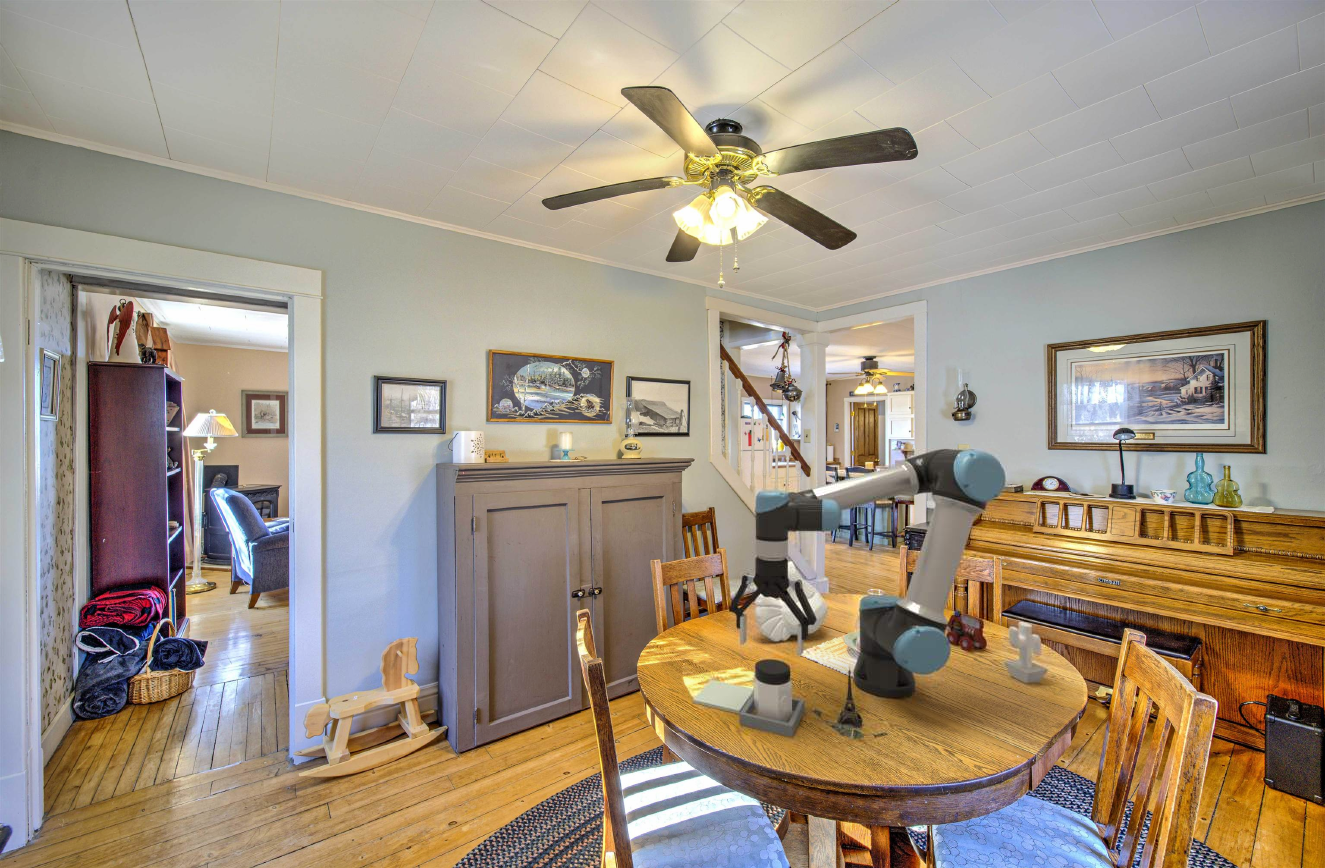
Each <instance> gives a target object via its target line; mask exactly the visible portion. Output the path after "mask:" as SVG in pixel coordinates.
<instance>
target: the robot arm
mask: <svg viewBox="0 0 1325 868" xmlns="http://www.w3.org/2000/svg"><path fill="white" fill-rule="evenodd" d="M1005 485H1006V473H1005V469H1004V467H1003V466H1002V464H1001V462H1000V461H999V459H997V458H996V456H994V455H992V454H991V453H989V452H986V451H982V450H976V449H972V448H969V449H952V448H951V449H950V448H949V449H948V448H943V449H935V450H932V451H928V452H925V453H922V454H919V455H915V456H912V457H909V458H904V459H902V460H899V461H898V462H897V464H896V465H895V466H891V467H888V468H883V469H880V470H877V471H872V472H869V473H865V474H861V475H858V476H854V477H851V478H850V477H849V478H846V479H843V480H840V481H836V482H832V483H828V484H825V485H821V486H820V485H819V486H818V487H817V486H816V487H814V488H813V487H812V488H810V489H805V490H802V491H797V492H795V491H790V492H787V491H785V490H760V491H759V492H758V493H756V496H755V499H756V500H755V508H754V512H755V514H754V515H755V548H754V549H755V552H754V554H755V556H756V557H755V558H754V559H755V562H754V565H755V567H754V569H755V571H754V572H755V574H754V575H750V573H748V572H747V573H745V574H743V575H742V577H741V583H740V586H739V588H738V589H737V592H736V594H735V595H734V598H733V600H732V602H731V603H730V605H729V608H728V611H729V612H730V613H733V614H735V616H736V617H735V619H736V622H735V623H736V629H738V630H740V631H739V639H740V640H739V644H740V645H743V646H744V645H745V643H746V642H747V640H748V639H747V635H748V633H747V632H748V630H747V629H748V626H747V625H748V624H747V623H748V619H747V617H748V616H747V615H748V614H747V613H745V612H746V610H747V609H748V608H749V607H750V606H751V605H752V603H754V602H755V600H756V598H757V597H758V596H759V595H760V594H762V595H763V596H764V597H772V598H775V599H777V600H778V599H779V598H781V600H782V601H783V602H785V604H786V605H787V606H788V608H789V609H790V610H791V612H792V613H793V614H794V616H795V617H796V618H797V620H798V621H799V622H800V624H799V625H798V635H797V656H802V655H803V654H804V650H805V648H804V647H805V646H804V641H807V640H808V638H809V634H808V625H814V624H815V622H816V620H817V619H816V616H815V614H814V612H813V610H812V608H811V606H810V604H809V602H808V599H807V597H806V595H805V593H804V591H803V586H802V581H801V580H797V581H789V579H788V562H789V560H788V558H787V557H788V556H789V532H793V533H795V532H822V533H825V532H833V531H836V530H837V529H838V528H839V527H840V523H841V512H842V511H846V510H849V509H853V508H857V507H862V506H863V505H867V504H871V503H875V502H878V501H883V500H886V499H889V498H893V497H894V498H895V497H897V496H901V495H904V494H908V495H909V496H917V495H921V494H929V493H930V494H931V498H932V501H933V502H934V504H935V505H934V509H933V512H932V516H931V518H930V521H929V525H928V528H927V530H926V533H925V537H924V540H923V542H922V545H921V547H920V552H919V554H918V558H917V561H916V562H915V566H914V570H913V573H912V576H911V578H910V583H909V586H908V588H907V592H906V594H905V597H904V598H903V597H901V596H900V597H899V596H895V595H886V594H885V595H884V594H883V595H882V594H874V595H873V594H872V595H871V594H870V595H866V596H863V597H861V599H860V600H859V609H858V612H859V653H858V657H857V660H856V663H855V665H854V668H853V672H852V673H853V674H852V675H853V678H852V679H853V683H854V684H855V685H856V686H857V687H858V688H859V689H860V690H862V691H864V692H866V693H869V694H871V695H875V696H879V697H883V698H892V699H893V698H894V699H896V698H898V699H899V698H900V699H901V698H906V697H910V696H912V695H913V694H915V692H916V680H915V676H914V674H915V675H921V676H922V675H923V676H924V675H927V676H928V675H930V674H931V675H932V674H933V673H935V672H938V671H940V670H941V669H942V668H943V667H944V666H945V665H946V664H947V662H948V661H949V658H950V655H951V650H952V649H951V648H952V647H951V644H950V643H949V642H948V638H947V637H946V635H947V634H946V632H947V631H946V630H947V625H948V622H949V620H948V619H947V618H946V615H945V609H946V607H947V604H948V600H949V597H950V594H951V591H952V587H953V585H954V581H955V580H956V575H957V574H958V573H957V572H958V569H959V567H960V563H961V560H962V557H963V554H964V551H965V549H966V546H967V545H966V544H967V542H968V538H969V536H970V532H971V529H972V526H973V523H974V521H975V518H976V517H977V516H978V515H979V516H980V515H981V514H984V513H985V510H986V508H987V504H988V502H990V501H994V500H995V499H996V498H998V497H999V496H1000V495H1001V494H1002V492H1003V491H1004V489H1005ZM752 583H753V584H754V585H755V587H756V590H755V591H754V592H753V593H752V594H751V595H750V596H749V597H748V598H747V599H746V600H745V602H744V603H743V604H742V605H741V606H740V607H739V606H738V605H739V604H740V602H741V601H742V598H743V596H744V594H745V593H746V591H747V588H748V586H750V585H751V584H752ZM789 586H791V587H792V589H793V590H794V591H795V592H796V595H797V598H798V600H799V602H800V604H801V606H802V608H803V610H804V613H805V615H806V616H805V615H804V613H803V612H802V611H801V609H800V608H799V607H798V605H797V604H796V603H795V601H794V600H793V599H792V597H791V596H790V594H789V592H788V591H787V589H788V587H789Z"/></svg>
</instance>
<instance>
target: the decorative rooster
mask: <svg viewBox="0 0 1325 868" xmlns="http://www.w3.org/2000/svg"><path fill="white" fill-rule="evenodd" d="M788 579H789V581H797V580H801V581H802V586H803V591H804V593H805V595H806V597H807V599H808V602H809V604H810V606H811V608H812V610H813V612H814V614H815V616H816V619H817V620H816V622H815V624H814V625H808V635H811V634H813V633H815V632H817V631H818V630H819V628H820V627H821V626H822V625H823V624H824V622H825V620H826V618H827V614H828V607H827V603H826V601H825V599H824V598H823V596H822V595H821V593H820V592H819V591H818V590H817V589H816V588H815V587H814V586H813V585H811V584H810V583H809V582H807V581H806V580H805V579H804V578H803V577H802V575H801V574H800V573H799V571H798V569H796V565H795V564H794V562H793V561H788ZM787 591H788V592H789V594H790V596H791V597H792V599H793V600H794V601H795V603H796V604H797V605H798V607H799V608H800V609H801V611H802V612H803V613H804V610H803V608H802V606H801V604H800V602H799V600H798V598H797V595H796V592H795V591H794V590H793V589H792V587H791V586H789V587H788V589H787ZM754 605H755V606H756V607H755V610H754V616H755V618H756V623H757V624H758V630H759V632H760V633H762V635H763V636H765V637H767V638H768V639H770V640H771V641H772V642H776V643H777V642H780V641H783V642H785V641H787V640H788V639H790V637H791V636H798V625H799V624H800V622H799V621H798V620H797V618H796V617H795V616H794V614H793V613H792V612H791V610H790V609H789V608H788V606H787V605H786V604H785V602H783V601H782V600H781V598H780V597H779V598H777V599H775V598H772V597H764V596H763V595H762V594H760V595H759V596H758V597H757V598H756V599H755V600H754ZM804 615H805V613H804ZM805 616H806V615H805Z"/></svg>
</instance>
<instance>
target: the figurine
mask: <svg viewBox="0 0 1325 868" xmlns="http://www.w3.org/2000/svg"><path fill="white" fill-rule="evenodd" d="M1008 630H1009V631H1008V632H1009V633H1008V636H1009V637H1008V639H1009V644H1010V646H1011V648H1013V649H1018V659H1012V660H1011V659H1010V660H1006V661H1005V660H1004V661H1003V664H1004V666H1005V667H1006V669H1007V671H1008V672H1009V674H1010V675H1011V677H1012V678H1014V679H1016V680H1018V681H1020V682H1023V683H1024V684H1033V683H1040V682H1041V680H1042V679H1043V677H1044V676H1045V675H1046V674H1047V672H1048V671H1049V670H1050V669H1048V668H1047V667H1044V666H1041V664H1040V665H1039V664H1037V663H1034V662H1033V661H1032V660H1033V659H1032V658H1033V657H1032V656H1033V655H1035V656H1036V655H1037V656H1040V655H1042V639H1041V637H1040V636H1039V635H1038V634H1032V632H1033V625H1032V624H1030V623H1029V622H1025V621H1019V622H1018V627H1016V626H1009V628H1008ZM1032 654H1033V655H1032Z"/></svg>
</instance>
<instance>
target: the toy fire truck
mask: <svg viewBox="0 0 1325 868" xmlns="http://www.w3.org/2000/svg"><path fill="white" fill-rule="evenodd" d="M984 623H985V621H984V620H983V619H982V618H979V617H976V616H974V615H971V614H968V613H962V612H961V611H960V610H955V611H954V613H953V614H952V615H950V617H949V619H948V625H947V628H946V630H947V631H946V632H947V633H946V634H945V635H946V637H947V638H948V642H949V644H950V645H951V646H956V645H959V646H960V648H961V649H962V650H963V651H965V652H971V651H973V649H974V648H977V649H979V650H983V649H986V648H987V646H988V643H987V639H986V638H985V636H984V633H983V632H984V631H983V629H984V628H985V624H984Z"/></svg>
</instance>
